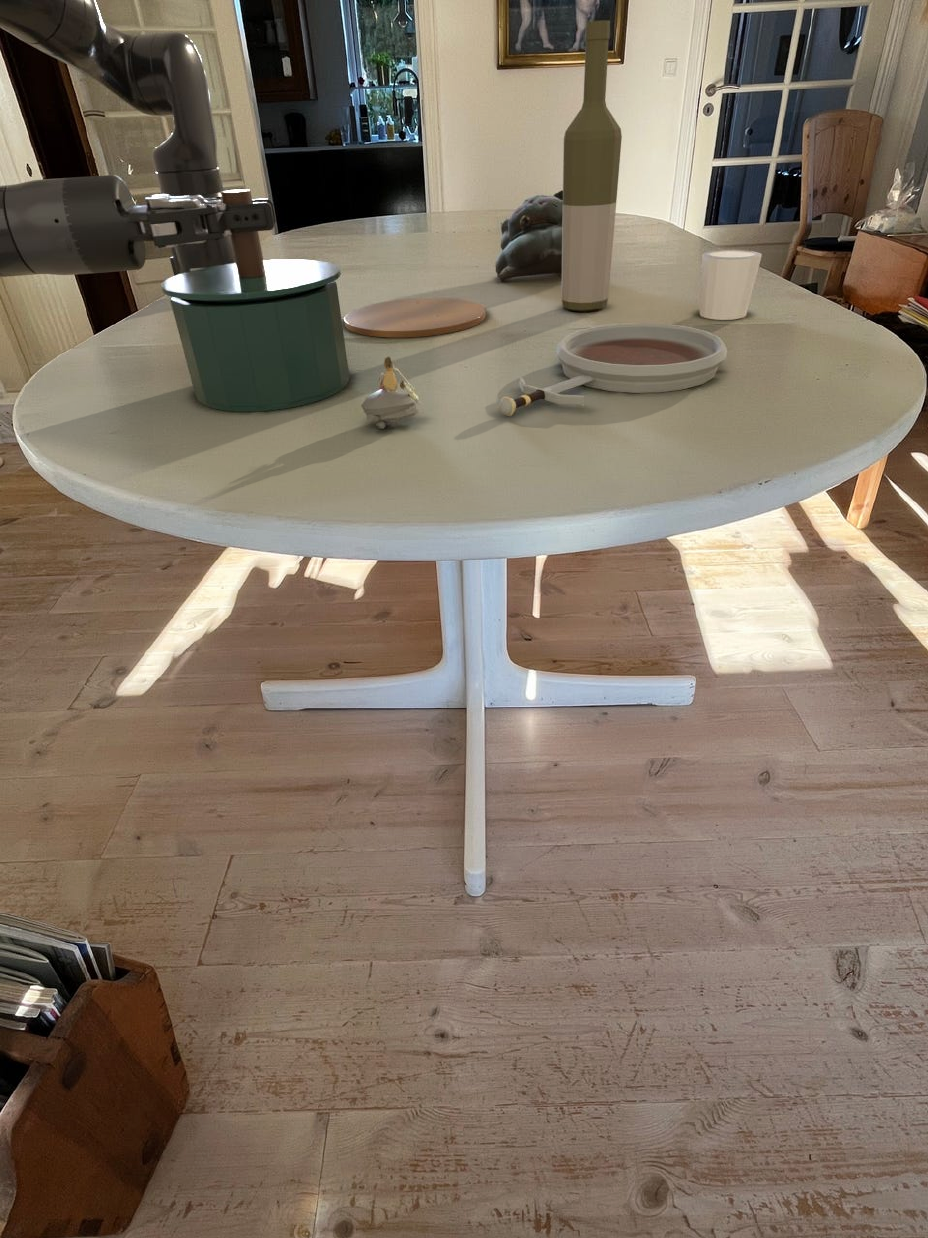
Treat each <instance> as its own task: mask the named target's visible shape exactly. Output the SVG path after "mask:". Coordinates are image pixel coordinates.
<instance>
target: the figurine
mask: <svg viewBox="0 0 928 1238" xmlns="http://www.w3.org/2000/svg"><path fill="white" fill-rule="evenodd" d="M392 362H393V360H392V358H391V356H386V357H385V358H384V361H383V366H384V367H383V368H384V370H385V373H384V372H381V373H380V374H379V376H378V386H379V388H378V390H377V391H374V392H373V393H371V394H369V395H367V397H365V398H364V399H365V400H364V401H363V402H362V404H361V405H360V406H361V409H362V410H363V413H364V414H365V415H366V420H368V421H371V422H373V423H375V426H376V427H377V428H378V429H380V430H383V429H385V428H386V425H387V424H388V425H389V424H390V425H396V424H397V423H398V422H399V421H402V420H405V419H409V418H412V417H414V416H416V415H418V414H419V413H420V408H419V407H418V406H419V405H422V403H421V401H419V396H418V394H416V393H415V387H414V386H413V385H411V384H410V383H409V381H408V380H407V378H406V377H405V376H404V375H403V374H402V373H401V371H400V369H399V368H398V367H396V366H395V365H394V364H393V363H392ZM394 371H395V372H397V371H398V373H399V374H400V375H401V377H402V378H403V379H404V380H401V381H400V383H399V387H400V389H402V390H405V389H406V392H407V393H406V392H401V391H397V390H398V382H397V378H396V375H395V372H394ZM405 381H406V382H405Z"/></svg>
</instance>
